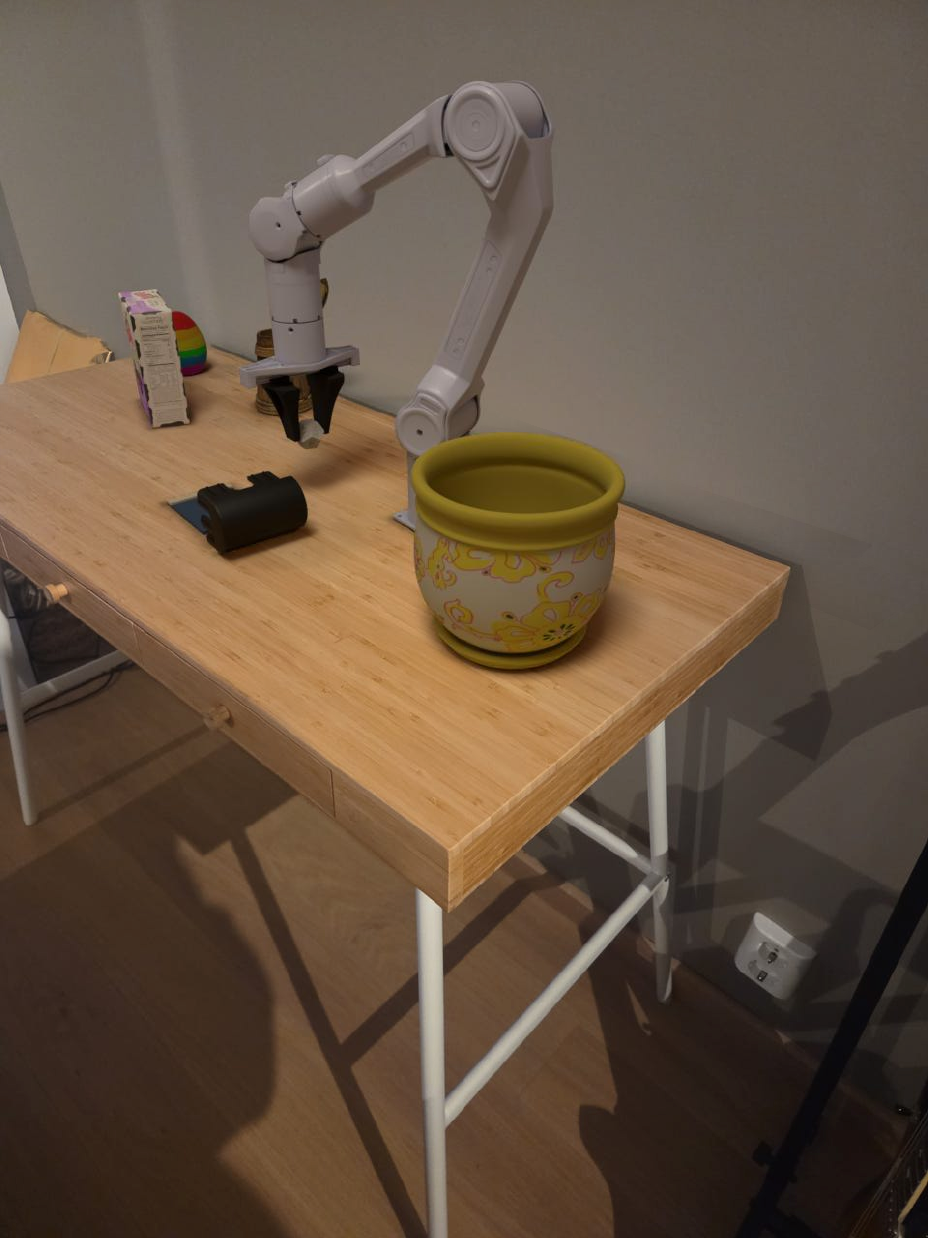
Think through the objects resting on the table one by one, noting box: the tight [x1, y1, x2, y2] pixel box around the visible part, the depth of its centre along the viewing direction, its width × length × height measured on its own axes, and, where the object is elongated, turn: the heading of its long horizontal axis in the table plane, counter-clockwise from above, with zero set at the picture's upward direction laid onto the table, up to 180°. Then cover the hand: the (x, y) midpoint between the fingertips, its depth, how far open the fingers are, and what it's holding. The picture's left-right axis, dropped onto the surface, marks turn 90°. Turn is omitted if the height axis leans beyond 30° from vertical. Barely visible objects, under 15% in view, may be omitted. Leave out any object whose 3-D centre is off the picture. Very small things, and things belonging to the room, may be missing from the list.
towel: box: [166, 482, 234, 535], centre depth 99 cm, size 10×8×1 cm
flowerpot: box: [410, 431, 626, 670], centre depth 74 cm, size 18×18×16 cm
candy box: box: [117, 288, 191, 429], centre depth 122 cm, size 14×6×16 cm, turn 25°
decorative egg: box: [172, 310, 208, 377], centre depth 141 cm, size 8×8×10 cm
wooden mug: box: [254, 277, 330, 416], centre depth 126 cm, size 9×14×18 cm, turn 126°
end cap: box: [197, 470, 309, 555], centre depth 91 cm, size 10×7×7 cm
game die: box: [296, 418, 324, 450], centre depth 99 cm, size 4×4×3 cm
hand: (308, 435), depth 99 cm, fingers closed on game die, 3 cm apart
